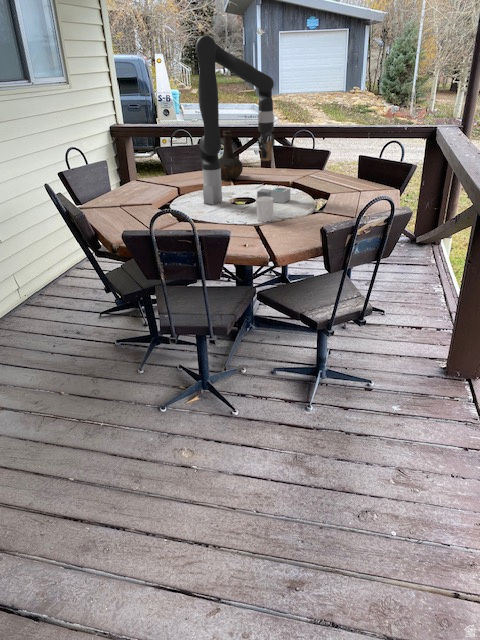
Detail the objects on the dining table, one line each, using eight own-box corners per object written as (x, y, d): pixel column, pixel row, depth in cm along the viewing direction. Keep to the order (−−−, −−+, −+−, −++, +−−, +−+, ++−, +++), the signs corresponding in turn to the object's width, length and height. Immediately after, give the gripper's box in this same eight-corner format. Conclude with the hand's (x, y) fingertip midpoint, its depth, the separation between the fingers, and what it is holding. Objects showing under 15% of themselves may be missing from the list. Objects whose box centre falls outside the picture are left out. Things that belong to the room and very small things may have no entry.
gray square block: (267, 201, 253) (267, 192, 251) (257, 200, 256) (257, 191, 254) (272, 198, 258) (272, 189, 256) (262, 197, 261) (262, 188, 259)
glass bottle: (232, 173, 315) (230, 127, 302) (248, 178, 302) (247, 130, 289) (209, 178, 306) (206, 130, 293) (225, 183, 293) (223, 133, 280)
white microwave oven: (283, 203, 248) (284, 191, 245) (270, 202, 252) (270, 189, 249) (290, 199, 254) (290, 187, 251) (277, 198, 258) (277, 186, 255)
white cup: (252, 220, 225) (252, 199, 220) (264, 216, 229) (264, 195, 225) (265, 223, 220) (265, 201, 215) (276, 219, 224) (277, 198, 220)
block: (267, 160, 245) (267, 142, 240) (260, 160, 247) (260, 141, 242) (271, 159, 248) (271, 140, 243) (264, 158, 250) (264, 140, 245)
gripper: (266, 123, 231) (266, 160, 240) (279, 119, 242) (279, 155, 250) (252, 122, 235) (253, 159, 243) (265, 119, 245) (266, 154, 254)
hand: (266, 157), depth 247 cm, fingers closed on block, 4 cm apart
